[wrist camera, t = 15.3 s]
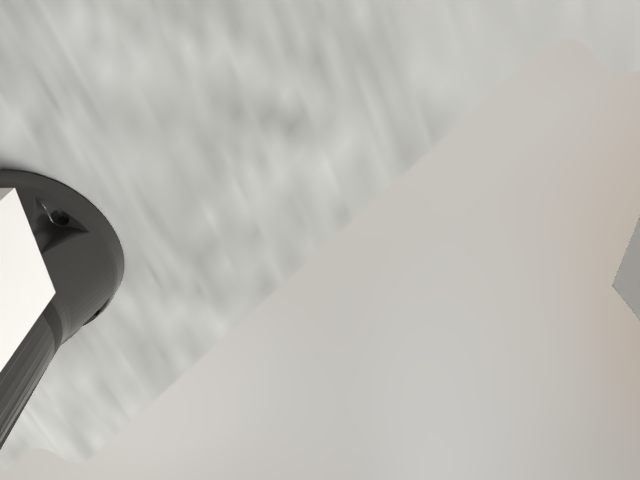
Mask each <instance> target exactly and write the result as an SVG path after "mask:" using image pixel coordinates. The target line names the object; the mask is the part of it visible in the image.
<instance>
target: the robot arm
mask: <svg viewBox="0 0 640 480" xmlns="http://www.w3.org/2000/svg"><path fill="white" fill-rule="evenodd" d="M123 273H124V255H123V250H122V247H121V244H120V241H119V239H118V237H117V235H116V233H115V231H114V229H113V228H112V226H111V225H110V223H109V222H108V221H107V219H106V218H105V217H104V216H103V215H102V214H101V212H100V211H99V210H98V209H97V208H96V207H95V206H93V205H92V204H91V203H90V202H89V201H88V200H86V199H85V198H84V197H82V196H81V195H79V194H78V193H77V192H75V191H73V190H72V189H70V188H68V187H66V186H64V185H62V184H60V183H58V182H56V181H54V180H51V179H49V178H46V177H43V176H39V175H36V174H32V173H27V172H21V171H11V170H0V449H1V448H2V446H3V444H4V442H5V441H6V439H7V437H8V435H9V434H10V432H11V430H12V428H13V427H14V425H15V423H16V421H17V419H18V418H19V416H20V414H21V412H22V411H23V409H24V407H25V405H26V404H27V402H28V400H29V398H30V397H31V395H32V393H33V391H34V390H35V388H36V386H37V384H38V383H39V381H40V379H41V377H42V376H43V374H44V372H45V370H46V369H47V367H48V365H49V363H50V361H51V360H52V358H53V357H54V355H55V353H56V352H57V350H58V348H59V347H60V345H62V344H63V343H64V342H66V341H67V340H68V339H69V338H71V337H72V336H73V335H74V334H75V333H76V332H77V331H78V330H79V329H80V328H81V327H82V326H84V325H86V324H87V323H89V322H91V321H92V320H94V319H95V318H96V317H97V316H99V315H100V314H101V313H102V312H103V311H104V310H105V309H106V307H107V306H108V305H109V304H110V302H111V300H112V299H113V297H114V295H115V293H116V291H117V289H118V287H119V285H120V283H121V281H122V278H123ZM612 286H613V287H614V289H615V290H616V291H617V292H618V294H619V295H620V296H621V297H622V299H623V300H624V301H625V302H626V304H627V305H628V306H629V307H630V309H631V310H632V311H633V312H634V313H635V314H636V316H637V317H638V318H639V320H640V217H639V220H638V222H637V225H636V227H635V230H634V232H633V235H632V237H631V240H630V242H629V245H628V247H627V249H626V252H625V254H624V257H623V259H622V262H621V265H620V267H619V270H618V272H617V275H616V277H615V280H614V282H613V285H612Z"/></svg>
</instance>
